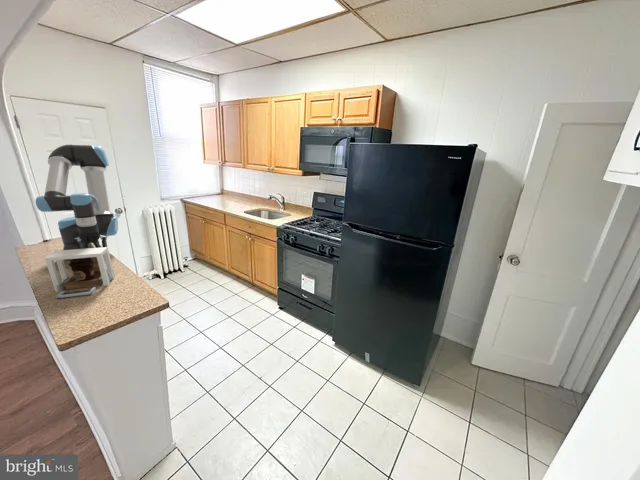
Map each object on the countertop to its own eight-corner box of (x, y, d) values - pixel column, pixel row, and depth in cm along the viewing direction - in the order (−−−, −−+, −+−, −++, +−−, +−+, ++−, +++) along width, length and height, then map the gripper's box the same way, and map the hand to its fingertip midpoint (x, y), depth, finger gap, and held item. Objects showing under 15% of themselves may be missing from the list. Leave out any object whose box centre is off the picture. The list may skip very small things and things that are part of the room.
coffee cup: (84, 289, 120) (77, 263, 116) (69, 287, 121) (62, 261, 117) (103, 281, 128) (97, 256, 124) (89, 278, 129) (82, 254, 125)
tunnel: (65, 282, 125) (55, 250, 120) (114, 277, 132) (107, 246, 127) (55, 291, 117) (44, 257, 112) (108, 285, 124) (100, 253, 119)
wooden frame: (83, 271, 137) (79, 253, 133) (115, 268, 141) (111, 251, 138) (64, 289, 119) (58, 269, 116) (101, 285, 124) (96, 266, 120)
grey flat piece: (62, 293, 116) (61, 290, 115) (96, 289, 120) (95, 287, 120) (56, 299, 111) (56, 296, 111) (91, 295, 116) (91, 292, 115)
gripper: (62, 227, 124) (75, 272, 131) (104, 225, 129) (114, 268, 137) (70, 224, 130) (81, 266, 137) (109, 222, 136) (118, 263, 143)
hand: (97, 267), depth 137 cm, fingers closed on wooden frame, 3 cm apart
